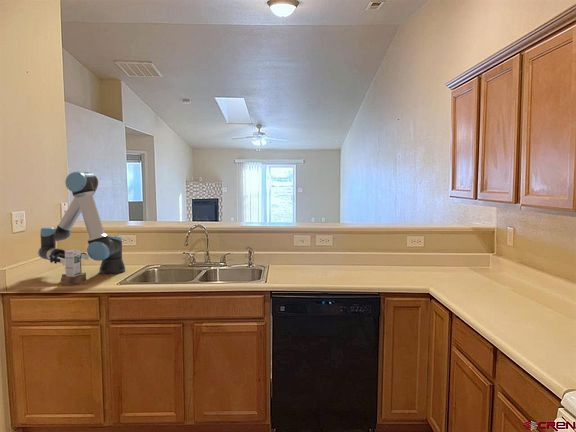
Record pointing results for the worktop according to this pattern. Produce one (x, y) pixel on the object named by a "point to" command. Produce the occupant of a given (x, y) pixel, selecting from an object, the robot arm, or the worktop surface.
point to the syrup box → (73, 263)
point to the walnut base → (73, 280)
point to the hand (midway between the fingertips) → (76, 259)
